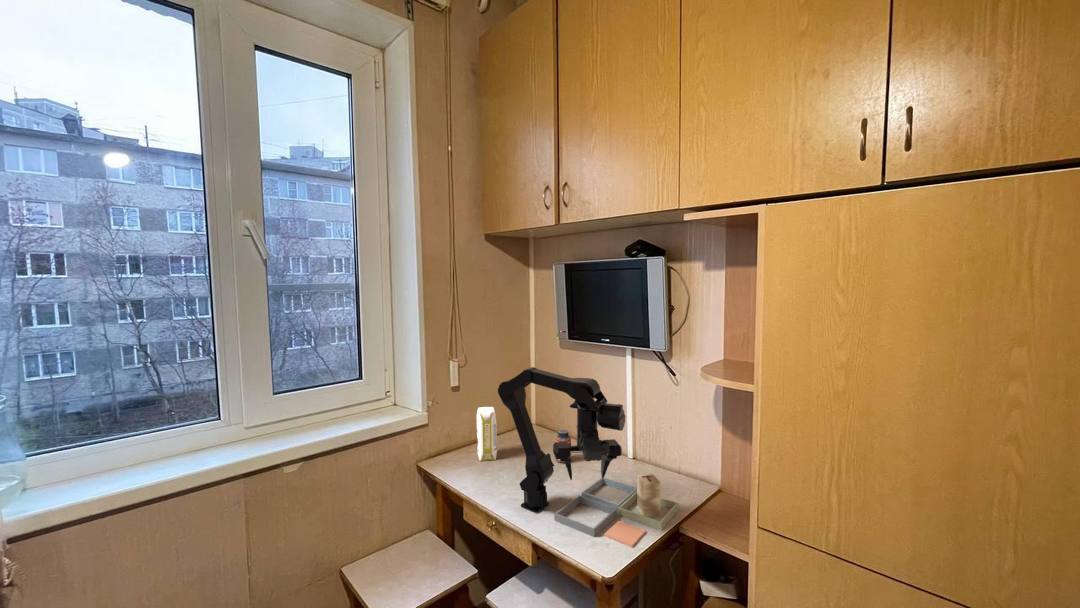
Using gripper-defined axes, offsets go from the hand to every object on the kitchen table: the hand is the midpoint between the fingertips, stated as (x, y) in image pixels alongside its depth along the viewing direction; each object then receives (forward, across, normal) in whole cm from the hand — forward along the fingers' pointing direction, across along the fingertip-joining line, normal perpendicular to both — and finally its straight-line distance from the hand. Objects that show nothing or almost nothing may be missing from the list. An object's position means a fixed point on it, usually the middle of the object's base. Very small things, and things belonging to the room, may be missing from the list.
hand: (586, 478), depth 118 cm
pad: (+12, +8, -9) cm, 17 cm away
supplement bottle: (+12, +1, +40) cm, 42 cm away
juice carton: (+13, -28, +49) cm, 58 cm away
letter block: (+12, +19, +1) cm, 22 cm away
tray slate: (+12, +10, +11) cm, 19 cm away
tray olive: (+12, +19, +1) cm, 22 cm away
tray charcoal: (+12, 0, +1) cm, 12 cm away
